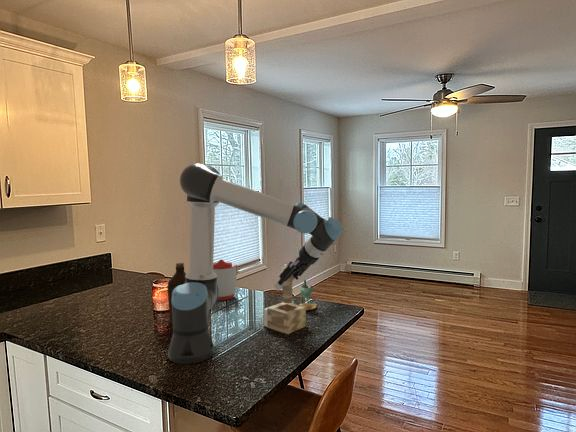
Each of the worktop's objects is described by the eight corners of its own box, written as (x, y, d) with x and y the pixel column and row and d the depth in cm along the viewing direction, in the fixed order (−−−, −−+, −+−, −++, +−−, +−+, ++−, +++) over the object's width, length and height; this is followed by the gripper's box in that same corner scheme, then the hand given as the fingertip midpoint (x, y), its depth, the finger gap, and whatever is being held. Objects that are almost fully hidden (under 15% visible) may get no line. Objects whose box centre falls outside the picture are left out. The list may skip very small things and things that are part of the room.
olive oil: (190, 326, 158) (189, 265, 156) (165, 326, 158) (163, 266, 156) (197, 317, 169) (195, 260, 167) (173, 317, 169) (171, 260, 167)
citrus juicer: (245, 298, 196) (245, 259, 195) (214, 304, 187) (213, 263, 185) (232, 291, 209) (231, 254, 208) (201, 296, 200) (200, 258, 198)
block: (288, 334, 149) (287, 313, 148) (267, 327, 156) (267, 308, 155) (305, 326, 157) (305, 307, 156) (285, 320, 164) (285, 301, 163)
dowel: (288, 303, 153) (287, 268, 151) (280, 301, 155) (280, 267, 154) (294, 301, 156) (294, 267, 155) (287, 299, 158) (286, 265, 157)
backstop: (268, 327, 156) (268, 310, 156) (264, 325, 158) (263, 308, 157) (294, 316, 168) (293, 301, 168) (289, 315, 170) (289, 300, 169)
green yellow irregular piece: (283, 311, 175) (285, 279, 176) (308, 306, 189) (309, 276, 189) (299, 316, 169) (301, 282, 169) (324, 310, 183) (325, 279, 183)
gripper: (303, 262, 137) (270, 299, 150) (331, 255, 150) (298, 290, 162) (292, 246, 140) (260, 283, 153) (320, 240, 153) (289, 275, 165)
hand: (280, 286), depth 157 cm, fingers closed on dowel, 4 cm apart
